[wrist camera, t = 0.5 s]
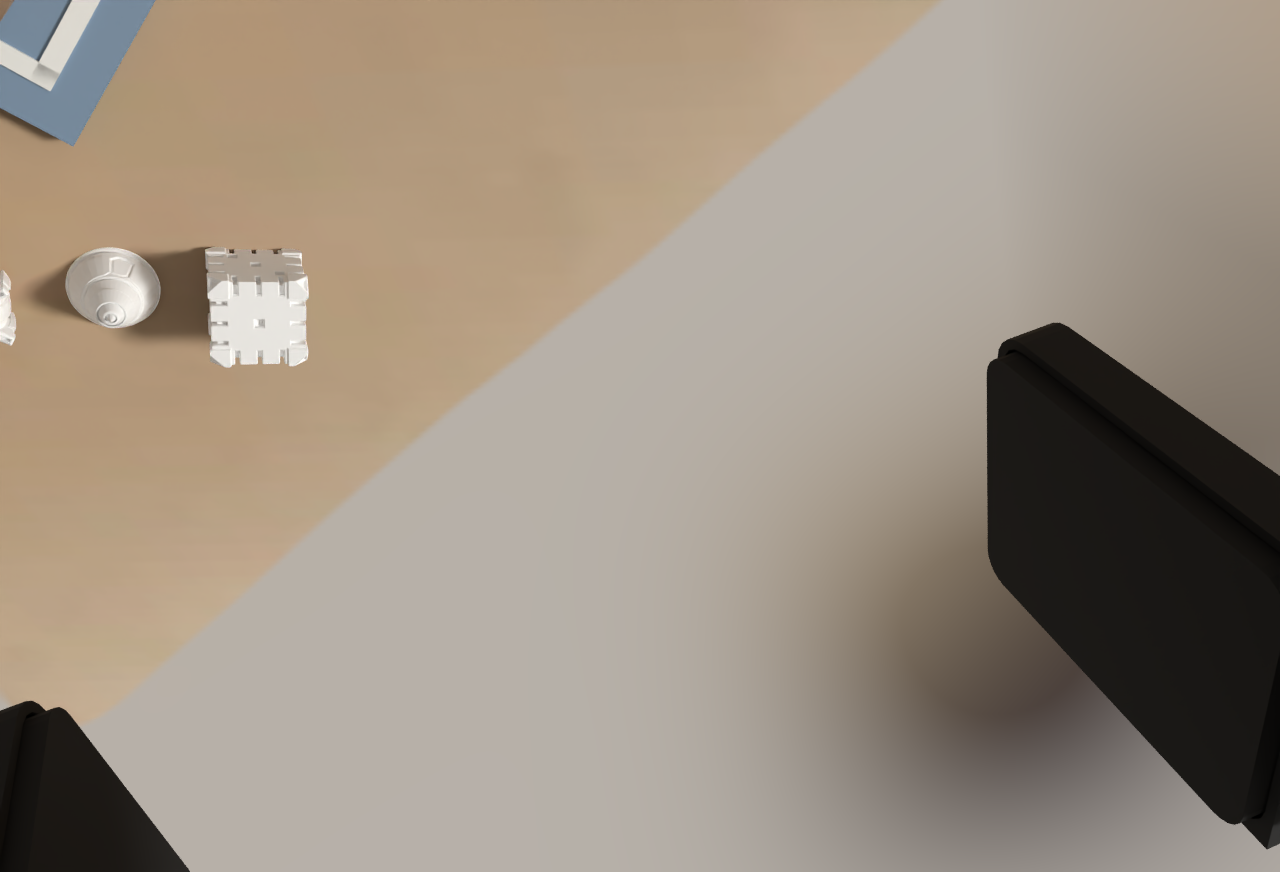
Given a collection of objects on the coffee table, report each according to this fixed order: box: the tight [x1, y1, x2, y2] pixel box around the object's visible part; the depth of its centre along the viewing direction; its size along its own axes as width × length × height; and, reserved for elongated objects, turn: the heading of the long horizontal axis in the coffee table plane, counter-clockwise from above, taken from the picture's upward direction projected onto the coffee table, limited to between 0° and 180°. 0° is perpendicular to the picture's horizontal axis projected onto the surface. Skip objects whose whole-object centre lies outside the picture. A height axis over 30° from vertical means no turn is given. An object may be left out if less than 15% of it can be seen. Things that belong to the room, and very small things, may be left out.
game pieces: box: [0, 247, 309, 367], centre depth 36 cm, size 12×3×3 cm, turn 81°
